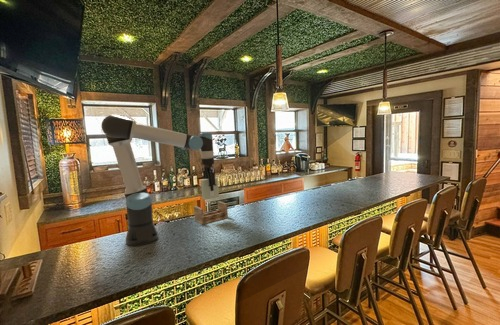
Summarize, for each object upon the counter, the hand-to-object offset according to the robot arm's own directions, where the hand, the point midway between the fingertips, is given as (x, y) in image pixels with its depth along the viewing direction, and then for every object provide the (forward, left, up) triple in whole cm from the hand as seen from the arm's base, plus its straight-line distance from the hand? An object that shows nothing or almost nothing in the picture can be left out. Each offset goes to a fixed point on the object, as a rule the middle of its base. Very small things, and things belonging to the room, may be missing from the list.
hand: (210, 195), depth 155 cm
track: (0, 0, -15) cm, 15 cm away
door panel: (0, 0, -2) cm, 2 cm away
